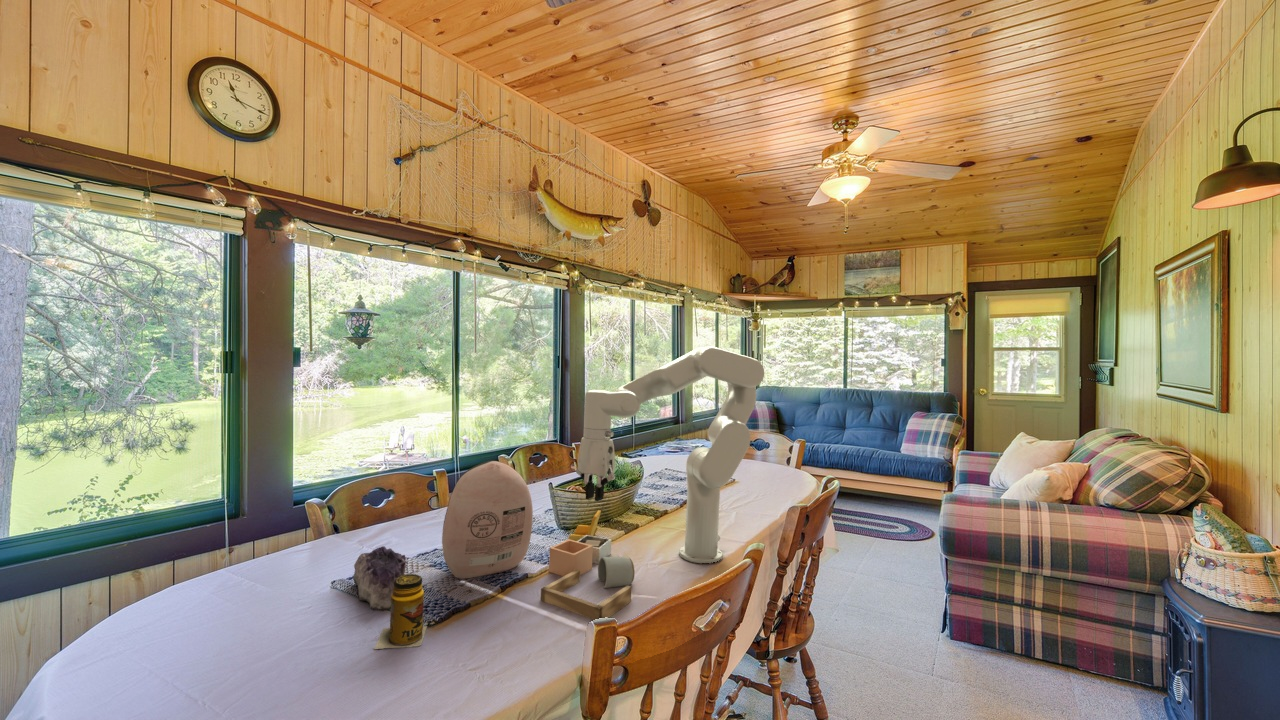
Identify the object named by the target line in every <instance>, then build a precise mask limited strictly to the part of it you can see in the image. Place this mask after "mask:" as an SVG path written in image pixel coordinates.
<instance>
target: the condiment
mask: <svg viewBox="0 0 1280 720" xmlns="http://www.w3.org/2000/svg"><path fill="white" fill-rule="evenodd" d="M424 597H425V592H424V589H423V577H422V576H421V575H419V574H415V573H413V574H412V573H407V574H405V575H403V576H400V577H398V578H397V579H395V581H394V588H393V593H392V595H391V610H390V616H389V617H390V620H389V622H390V623H389V624H390V625H389V627H386V628H383V629H382V631H381V633H380V635H379V638H378V640H377V641H376V644H375V646H374V648H373V649H374V650H378V649H380V650H381V649H382V650H383V649H390V648H392V649H395V648H397V649H398V648H399V649H400V648H412V647H420V646H422V644H423V641H424V638H425V634H426V632H427V628H428V625H424V607H425V606H424V602H425V601H424V600H425V599H424ZM423 625H424V626H423Z"/></svg>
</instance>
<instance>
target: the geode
mask: <svg viewBox="0 0 1280 720" xmlns="http://www.w3.org/2000/svg"><path fill="white" fill-rule="evenodd" d="M406 559H407V557H406V555H405V554H401V553H399V552H395V551H394V550H393V549H392V548H390V547H389V548H388V549H387V548H386V546H380V547H376V548H374V549H373V550H372V551H371V552H363V553H360V555H359V556H358V557H357V559H356V561H355V563H354V565H353V567H354V575H353V578H352V581H353V583H354V585H356V586H357V592H358V600H359V601H364V602H367V603H369V604H368V605H369V607H370V610H371V611H378V612H384V611H391V595H392V593H393V588H394V581H395V579H397V578H398V577H400V576H403V575H406V573H405V572H406V567H407V562H406V561H407V560H406Z"/></svg>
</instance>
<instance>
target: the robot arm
mask: <svg viewBox="0 0 1280 720" xmlns="http://www.w3.org/2000/svg"><path fill="white" fill-rule="evenodd" d="M706 377H709V378H712V379H716V380H719V381H721V382H724V383H727V395H726V398H725V399H724V401H723V404H722V406H721V407H720V409H719V411H718V412H717V413H716V416H715V417H714V419H713V420H712V421H711V423H710V425H709V427H708V430H707V437H708V440H709V441H710V443H711V446H710V448H709V447H706V446H699V447H697V448H694V449H693V450H691V452H690V453H689V454H688V456H687V460H686V464H685V467H686V472H685V473H686V483H687V484H686V485H687V487H686V490H687V491H686V511H685V535H684V545H683V546H681V547H680V548H679V552H678V553H679V557H681V558H682V559H684V560H685V561H688V562H690V563H695V564H702V563H709V564H714V563H713V562H715V563H718V562H720V561H721V560H723V554H724V553H723V552H722V551H721V549H719V548H718V545H719V544H718V543H719V541H720V540H721V537H720V535H719V525H720V524H719V522H720V521H719V520H720V502H721V501H720V499H721V490H720V489H721V488H722V487H724V486H725V485H727V484H728V482H730V480H731V479H732V477H733V476H734V474H735V472H736V471H737V469H738V467H739V466H740V465H741V462H742V460H743V459H744V457H745V455H746V454H747V452H748V450H749V447H750V446H751V440H752V439H751V431H750V429H749V427H748V426H747V424H748V421H749V419H750V417H751V415H752V413H753V411H754V409H755V406H756V403H757V388H756V387H758V386H759V385H760V384H762V382H763V380H764V378H765V368H764V366H763V364H762V363H761V362H760V361H759V360H758V359H757V358H753V357H750V356H747V355H742V354H739V353H736V352H733V351H729V350H726V349H722V348H720V347H715V346H699V347H697V348H694V349H693V350H691V351H689V352H687V353H686V354H683V355H681V356H680V357H678V358H676V359H674V360H671V361H670V362H668V363H666V364H665V365H662V366H660V367H658V368H656V369H654V370H652V371H650V372H648V373H646V374H644V375H641V376H639V377H638V378H635V379H634V380H632V381H629V382H628V383H626V384H624V385H621V386H619V387H618V388H617V389H615V390H614V391H609V390H606V389H605V390H604V389H589V390H587V391H586V392H585V395H584V412H583V413H584V415H583V435H582V436H583V437H581V440H580V444H579V450H578V457H577V459H578V460H577V468H576V471H575V472H576V474H577V475H578V476H580V477H581V479H582V481H583V484H584V485H585V500H589V499H593V498H594V501H595V502H599V501H602V500H603V499H604V496H605V486H607V484H608V483H609V482H610V481H613V480H615V479H616V474H615V472H616V453H615V445H614V439H613V438H612V439H611V437H614V434H615V433H614V431H612V428H611V427H612V426H611V425H612V417H616V418H617V417H618V418H624V419H625V418H626V419H630V418H632V417H634V416H636V415H637V414H638V413H639V411H640V409H641V405H642V404H644V403H646V402H648V401H650V400H652V399H656V398H659V397H664V396H670V395H674V394H676V393H678V392H680V391H682V390H684V389H686V388H688V387H689V386H691V385H693V384H695V383H697V382H698V381H701V380H703V379H704V378H706ZM594 476H596V486H595V483H594V482H593V481H594ZM720 559H721V560H720ZM719 560H720V561H719ZM717 561H718V562H717ZM711 562H712V563H711Z"/></svg>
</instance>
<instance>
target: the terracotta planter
mask: <svg viewBox="0 0 1280 720" xmlns="http://www.w3.org/2000/svg"><path fill="white" fill-rule="evenodd" d="M592 554H593V546H592V545H588V544H585V543H581V542H577V541H574V540H570V539H568V538H567V540H564V541H562V542H560V543H557V544H555V545H553V546H551V547H549V556H548V557H549V559H548V560H549V561H548V573H551V574H555V575H557V576H561V577H564V576H565V575H567V574H569V573H571V572H573V571H575V570H579V571H580V577H581V576H583V575H584V574H586V573H588V572H589V571H591V570H593V563H592Z"/></svg>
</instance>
